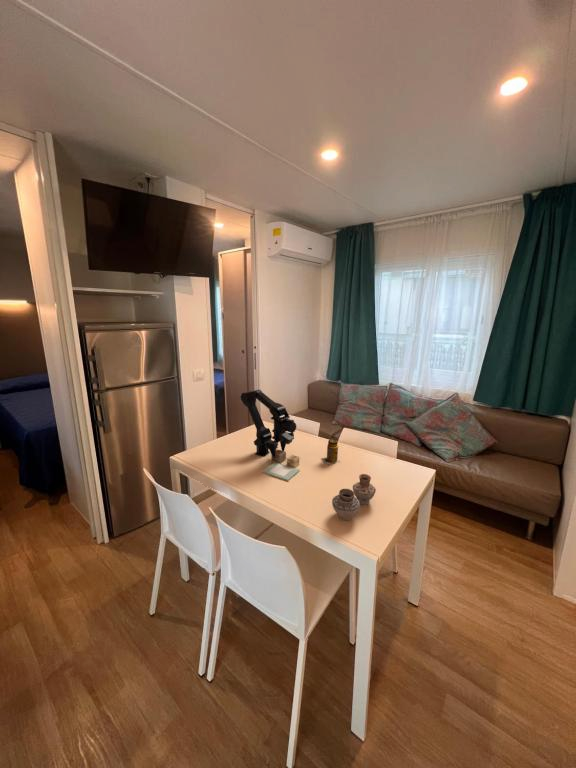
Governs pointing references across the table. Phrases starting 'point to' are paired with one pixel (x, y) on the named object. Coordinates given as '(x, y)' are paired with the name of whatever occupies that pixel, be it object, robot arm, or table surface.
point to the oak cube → (293, 461)
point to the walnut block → (279, 456)
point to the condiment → (331, 452)
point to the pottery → (353, 498)
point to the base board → (281, 471)
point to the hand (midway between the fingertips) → (278, 453)
